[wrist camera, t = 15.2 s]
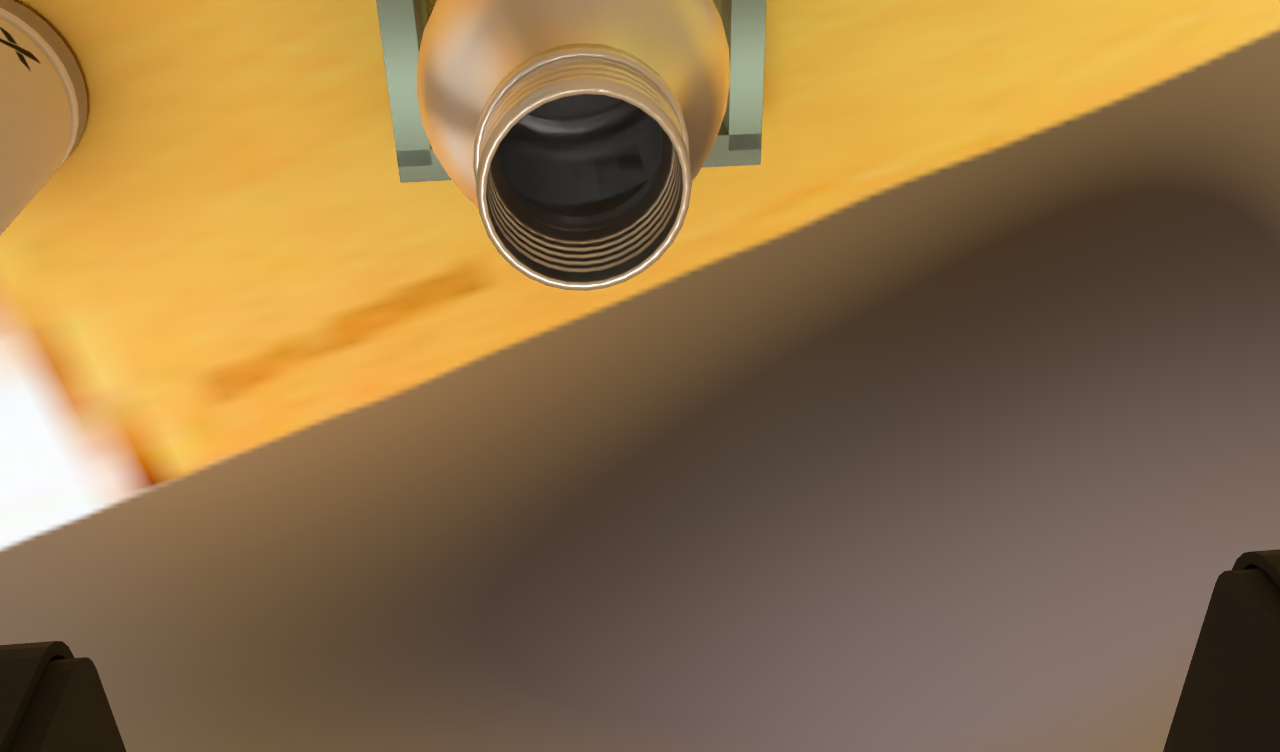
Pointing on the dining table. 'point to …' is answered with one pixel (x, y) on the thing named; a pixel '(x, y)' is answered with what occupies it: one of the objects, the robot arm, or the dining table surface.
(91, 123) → the dining table surface
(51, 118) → the travel mug
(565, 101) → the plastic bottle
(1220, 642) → the robot arm
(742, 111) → the dock
